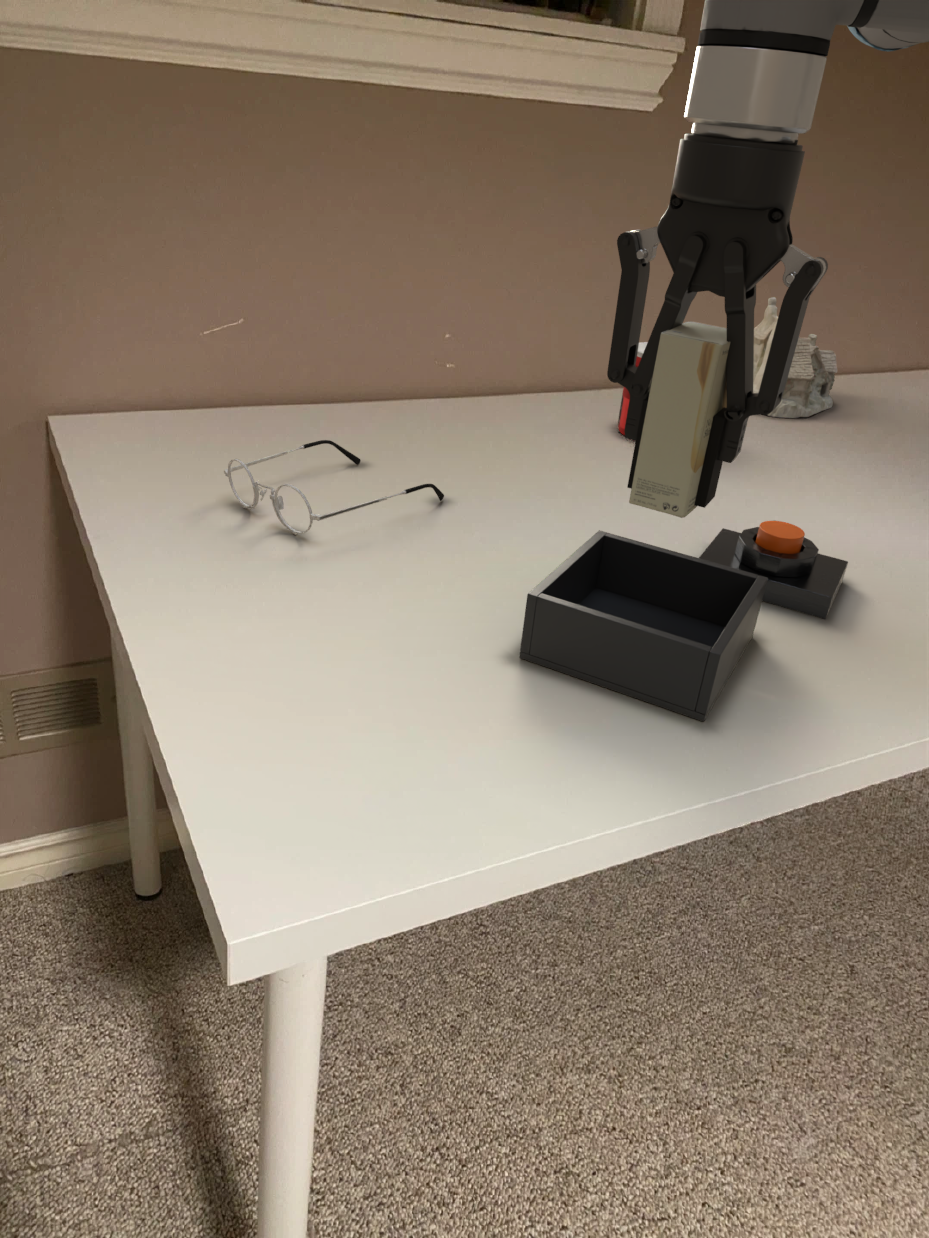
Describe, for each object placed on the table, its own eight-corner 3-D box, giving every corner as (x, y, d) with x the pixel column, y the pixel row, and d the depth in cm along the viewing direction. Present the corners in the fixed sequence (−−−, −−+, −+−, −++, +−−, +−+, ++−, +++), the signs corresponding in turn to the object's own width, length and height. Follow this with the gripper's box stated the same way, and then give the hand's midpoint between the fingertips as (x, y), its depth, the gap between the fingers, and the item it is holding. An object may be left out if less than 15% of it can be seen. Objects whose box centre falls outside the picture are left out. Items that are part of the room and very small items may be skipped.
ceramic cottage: (745, 413, 136) (776, 306, 130) (722, 386, 151) (748, 289, 144) (851, 429, 137) (887, 324, 130) (817, 401, 152) (848, 305, 145)
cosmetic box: (684, 521, 66) (723, 345, 60) (626, 505, 68) (658, 332, 62) (710, 495, 71) (748, 329, 65) (655, 480, 73) (687, 317, 67)
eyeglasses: (210, 497, 95) (208, 449, 92) (351, 460, 107) (352, 417, 105) (313, 552, 86) (313, 501, 83) (454, 504, 98) (457, 459, 96)
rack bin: (752, 637, 78) (768, 577, 76) (703, 722, 67) (720, 655, 64) (589, 587, 84) (599, 529, 81) (518, 657, 73) (527, 593, 70)
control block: (842, 582, 89) (854, 543, 87) (825, 619, 82) (838, 579, 80) (717, 548, 94) (726, 510, 92) (692, 581, 87) (701, 541, 85)
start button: (803, 545, 87) (808, 528, 86) (795, 560, 84) (800, 542, 83) (760, 534, 89) (765, 516, 88) (750, 548, 86) (755, 530, 85)
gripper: (901, 150, 57) (801, 506, 69) (630, 121, 64) (580, 451, 75) (885, 150, 51) (779, 541, 63) (589, 119, 58) (541, 477, 69)
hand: (671, 491), depth 69 cm, fingers closed on cosmetic box, 4 cm apart
